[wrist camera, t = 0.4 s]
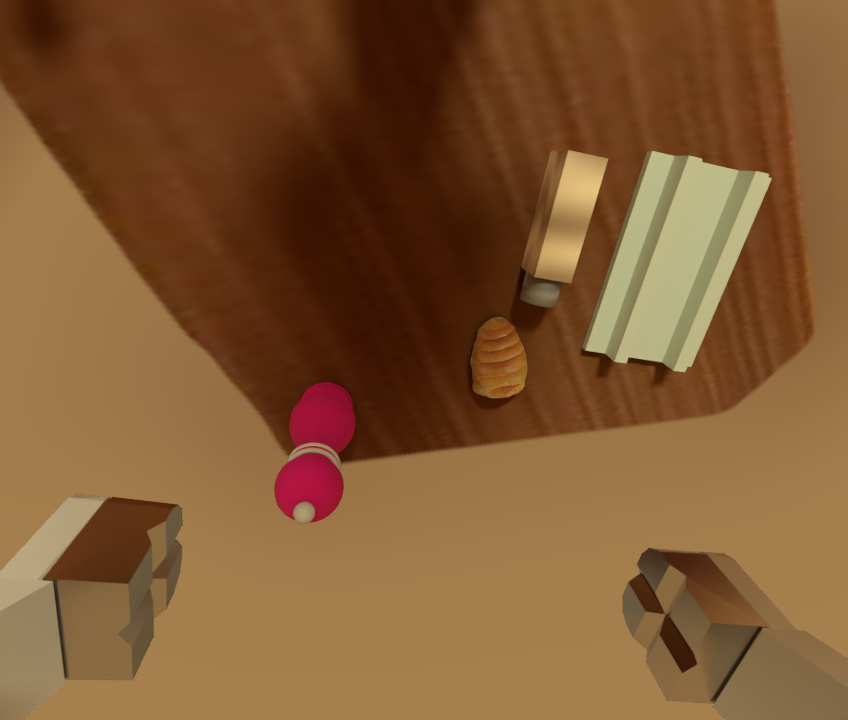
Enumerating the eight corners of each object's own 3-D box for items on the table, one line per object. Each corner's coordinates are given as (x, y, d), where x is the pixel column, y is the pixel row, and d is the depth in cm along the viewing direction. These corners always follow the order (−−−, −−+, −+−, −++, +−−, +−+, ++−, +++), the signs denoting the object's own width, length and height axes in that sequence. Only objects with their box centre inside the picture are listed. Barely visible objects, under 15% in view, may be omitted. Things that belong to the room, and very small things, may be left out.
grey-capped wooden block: (550, 151, 49) (568, 150, 44) (586, 158, 49) (608, 158, 45) (513, 293, 54) (526, 305, 50) (547, 298, 55) (562, 311, 50)
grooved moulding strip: (647, 151, 49) (665, 150, 46) (764, 177, 52) (790, 178, 48) (581, 347, 57) (594, 358, 54) (686, 363, 60) (703, 375, 56)
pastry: (463, 319, 55) (469, 330, 52) (521, 310, 55) (531, 320, 52) (471, 392, 59) (477, 406, 55) (525, 382, 59) (535, 396, 55)
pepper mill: (284, 412, 57) (240, 531, 39) (316, 366, 55) (286, 468, 37) (336, 440, 59) (317, 566, 41) (368, 397, 57) (364, 508, 39)
